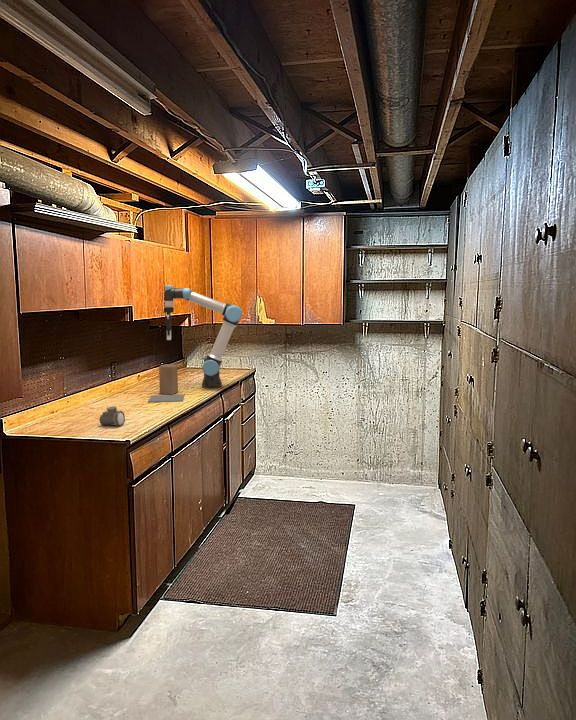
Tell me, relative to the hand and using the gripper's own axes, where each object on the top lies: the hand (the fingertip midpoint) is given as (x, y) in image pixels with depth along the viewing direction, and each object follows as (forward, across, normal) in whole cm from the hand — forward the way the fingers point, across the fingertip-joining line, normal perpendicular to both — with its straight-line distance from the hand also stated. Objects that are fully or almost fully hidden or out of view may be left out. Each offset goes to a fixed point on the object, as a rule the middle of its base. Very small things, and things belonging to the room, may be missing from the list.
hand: (169, 339), depth 397 cm
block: (+37, +14, 0) cm, 40 cm away
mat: (+37, +35, 0) cm, 51 cm away
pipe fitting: (+37, +108, -23) cm, 116 cm away
